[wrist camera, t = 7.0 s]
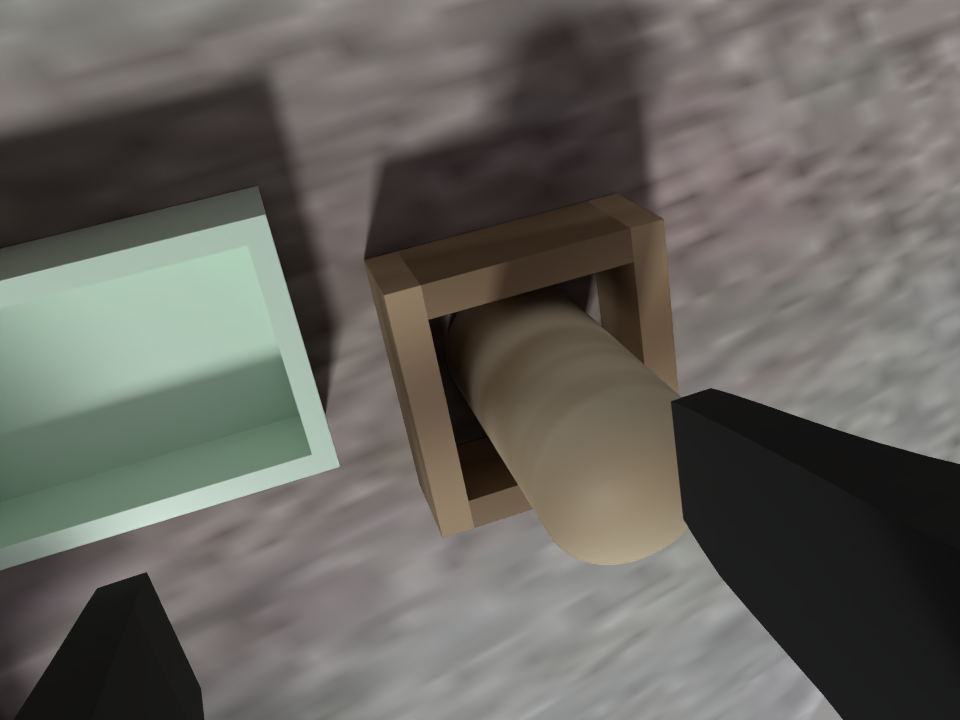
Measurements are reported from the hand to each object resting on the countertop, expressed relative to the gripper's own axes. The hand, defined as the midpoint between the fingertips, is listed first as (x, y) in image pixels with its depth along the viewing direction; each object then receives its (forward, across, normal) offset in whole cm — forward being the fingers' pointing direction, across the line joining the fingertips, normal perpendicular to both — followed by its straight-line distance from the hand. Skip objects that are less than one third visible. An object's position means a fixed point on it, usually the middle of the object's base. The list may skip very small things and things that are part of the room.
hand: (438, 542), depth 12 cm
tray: (+10, +5, 0) cm, 11 cm away
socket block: (+10, -4, +3) cm, 11 cm away
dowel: (+10, -4, +3) cm, 11 cm away
